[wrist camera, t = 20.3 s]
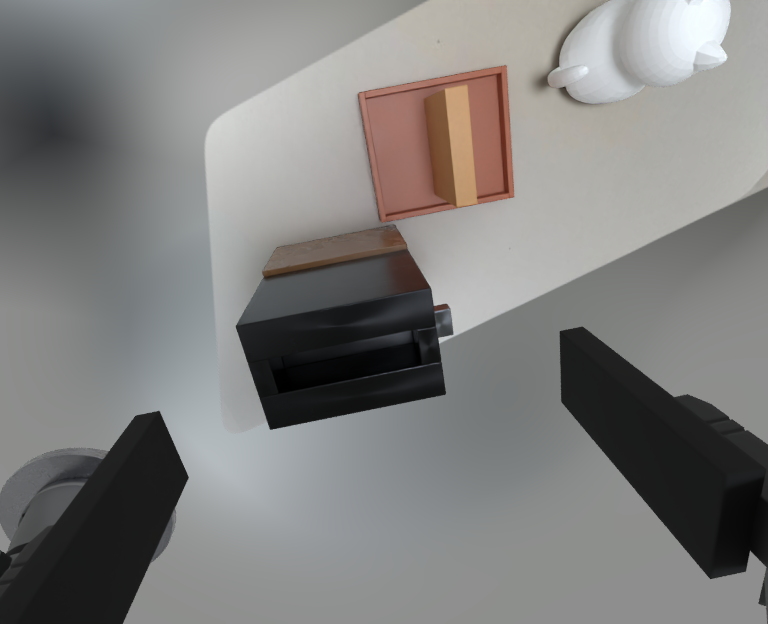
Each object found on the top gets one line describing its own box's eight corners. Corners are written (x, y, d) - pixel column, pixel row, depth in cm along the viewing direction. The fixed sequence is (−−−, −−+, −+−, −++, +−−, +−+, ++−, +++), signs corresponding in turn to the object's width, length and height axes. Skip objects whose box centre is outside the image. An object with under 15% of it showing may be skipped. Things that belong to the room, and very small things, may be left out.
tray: (379, 219, 51) (381, 222, 49) (357, 94, 46) (358, 92, 44) (507, 195, 51) (514, 197, 49) (499, 68, 46) (506, 65, 44)
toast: (423, 98, 46) (444, 88, 37) (442, 95, 46) (467, 84, 37) (435, 195, 50) (456, 208, 40) (452, 192, 50) (477, 204, 40)
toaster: (297, 324, 55) (271, 435, 34) (276, 247, 51) (233, 319, 30) (421, 300, 55) (469, 395, 34) (409, 221, 51) (455, 276, 31)
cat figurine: (651, 77, 48) (778, 52, 34) (545, 132, 49) (626, 130, 35) (631, -13, 44) (763, -81, 31) (518, 49, 46) (596, 9, 32)
